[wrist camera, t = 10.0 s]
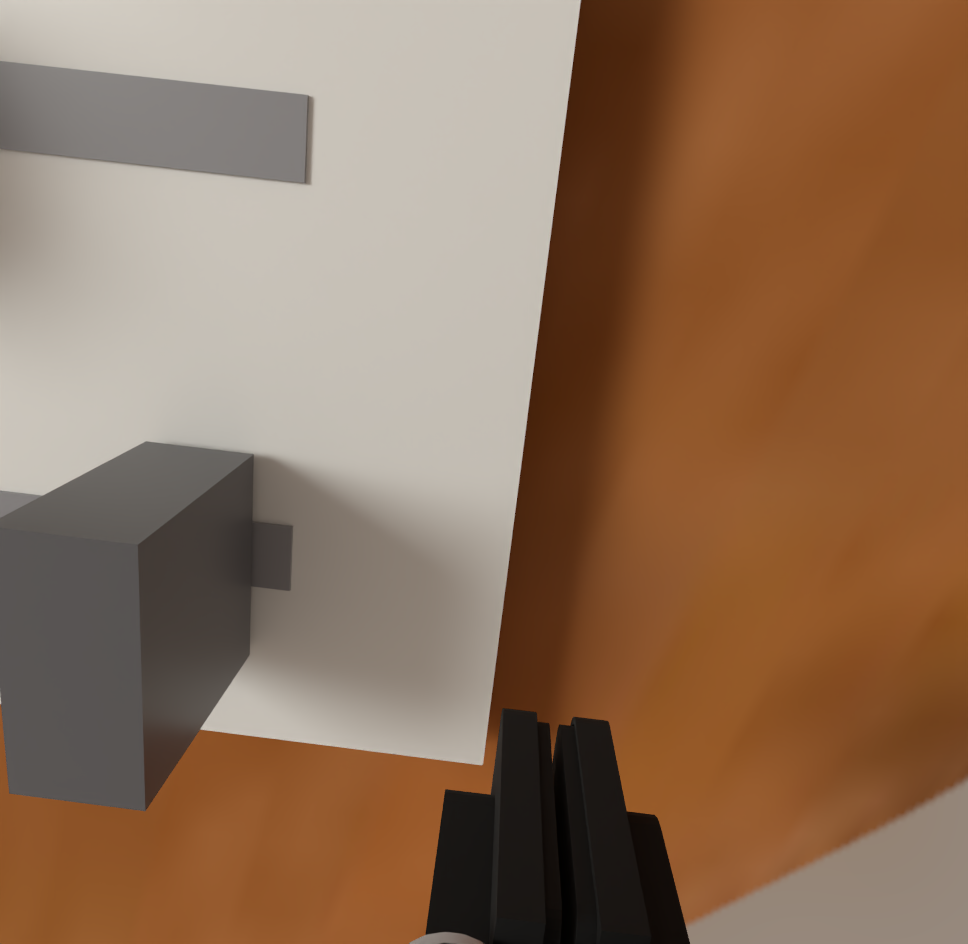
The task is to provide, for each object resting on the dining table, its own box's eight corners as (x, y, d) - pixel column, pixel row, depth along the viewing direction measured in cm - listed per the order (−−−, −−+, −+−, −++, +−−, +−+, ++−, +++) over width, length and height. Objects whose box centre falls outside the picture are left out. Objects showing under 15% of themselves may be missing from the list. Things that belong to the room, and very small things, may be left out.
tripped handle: (253, 454, 17) (138, 544, 12) (249, 654, 18) (145, 811, 13) (145, 441, 17) (-15, 525, 12) (150, 642, 18) (9, 793, 13)
